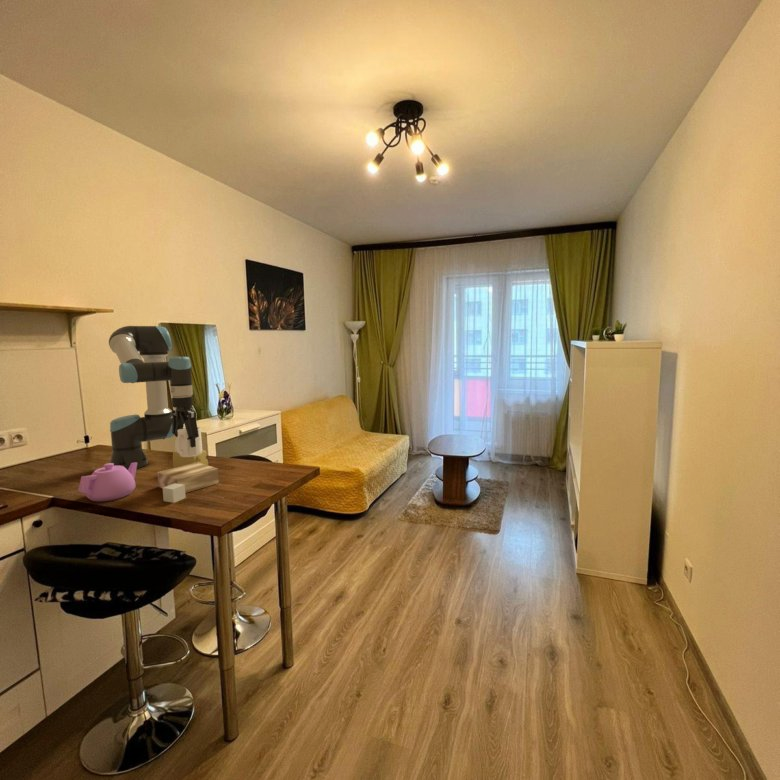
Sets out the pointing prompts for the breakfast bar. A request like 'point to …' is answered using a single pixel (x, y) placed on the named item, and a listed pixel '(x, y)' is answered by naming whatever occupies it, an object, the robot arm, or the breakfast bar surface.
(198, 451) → the mug
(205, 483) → the oak block
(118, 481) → the teapot
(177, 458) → the cheese
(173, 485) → the beige block
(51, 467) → the breakfast bar surface
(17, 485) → the breakfast bar surface
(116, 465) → the robot arm
